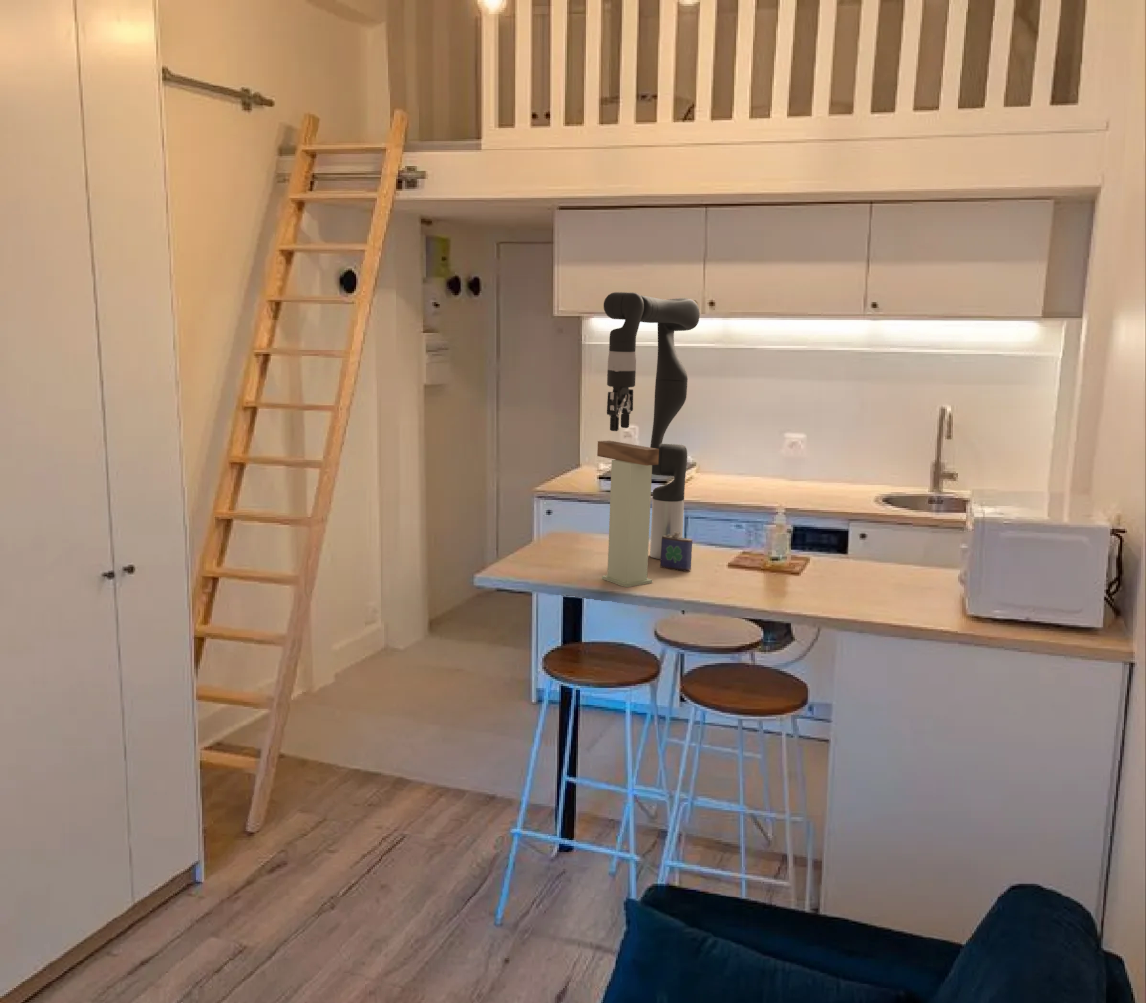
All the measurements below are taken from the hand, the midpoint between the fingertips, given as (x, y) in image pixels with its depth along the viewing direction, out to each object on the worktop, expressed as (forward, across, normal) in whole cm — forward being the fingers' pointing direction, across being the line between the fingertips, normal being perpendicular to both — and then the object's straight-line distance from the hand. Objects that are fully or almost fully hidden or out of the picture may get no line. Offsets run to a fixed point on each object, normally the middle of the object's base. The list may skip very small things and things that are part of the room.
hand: (619, 429), depth 273 cm
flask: (+39, -10, +14) cm, 43 cm away
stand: (+39, +10, +7) cm, 41 cm away
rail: (+7, +8, +5) cm, 12 cm away
